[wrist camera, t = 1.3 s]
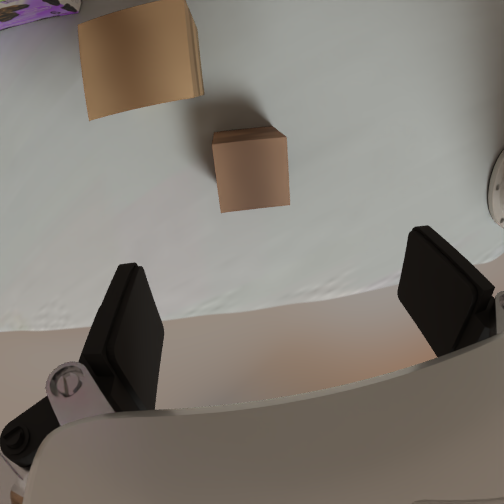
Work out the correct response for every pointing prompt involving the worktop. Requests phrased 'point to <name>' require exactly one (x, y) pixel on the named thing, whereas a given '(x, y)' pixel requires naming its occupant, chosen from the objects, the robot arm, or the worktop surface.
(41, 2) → the candy box
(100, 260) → the worktop surface
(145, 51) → the tower top
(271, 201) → the walnut cube
